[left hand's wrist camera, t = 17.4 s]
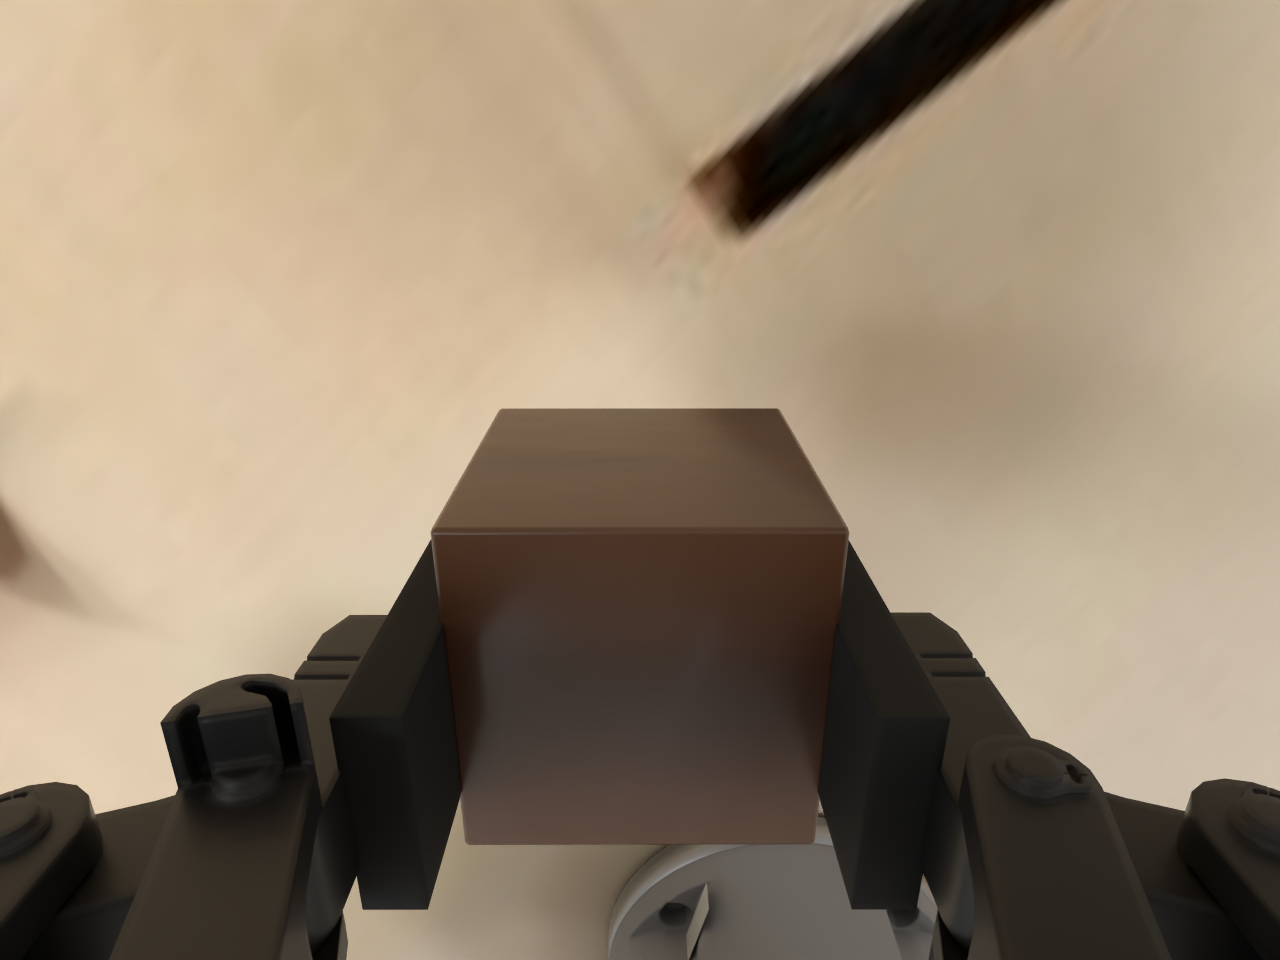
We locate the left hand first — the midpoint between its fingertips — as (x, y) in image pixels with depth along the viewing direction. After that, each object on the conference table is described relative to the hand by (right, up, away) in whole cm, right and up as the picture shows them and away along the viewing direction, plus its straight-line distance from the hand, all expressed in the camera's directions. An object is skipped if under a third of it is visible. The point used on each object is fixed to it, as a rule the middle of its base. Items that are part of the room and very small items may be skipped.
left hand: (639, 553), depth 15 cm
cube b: (0, 0, 0) cm, 0 cm away
